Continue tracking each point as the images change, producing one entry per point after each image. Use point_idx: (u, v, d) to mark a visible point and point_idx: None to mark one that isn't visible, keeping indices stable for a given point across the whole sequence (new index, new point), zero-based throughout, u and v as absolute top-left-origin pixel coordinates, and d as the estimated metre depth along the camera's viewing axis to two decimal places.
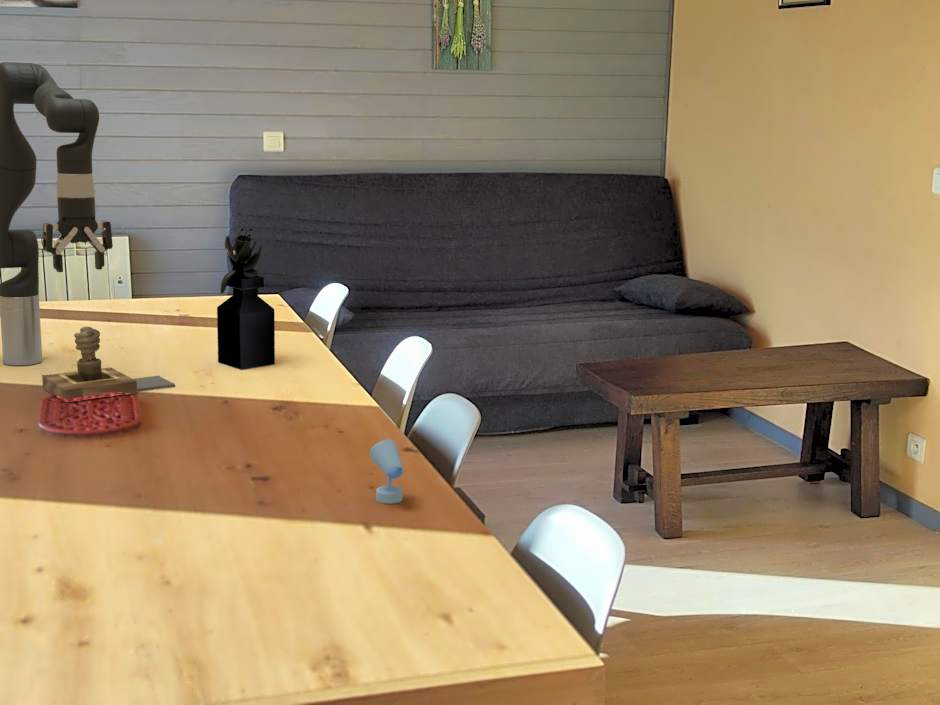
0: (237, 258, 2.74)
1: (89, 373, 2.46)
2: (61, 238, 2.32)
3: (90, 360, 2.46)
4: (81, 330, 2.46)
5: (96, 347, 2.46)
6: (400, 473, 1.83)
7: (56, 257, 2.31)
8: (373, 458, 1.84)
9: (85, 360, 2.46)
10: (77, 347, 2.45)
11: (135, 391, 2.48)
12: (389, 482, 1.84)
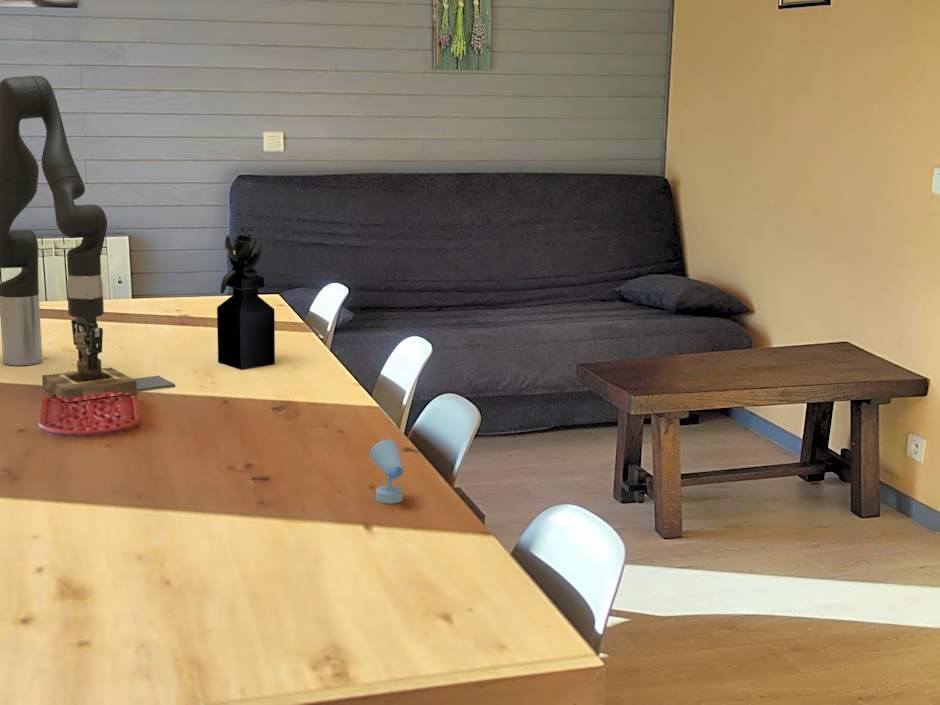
0: (237, 258, 2.74)
1: (89, 373, 2.46)
2: None
3: None
4: None
5: None
6: (400, 473, 1.83)
7: None
8: (373, 458, 1.84)
9: (85, 360, 2.46)
10: (77, 347, 2.45)
11: (135, 391, 2.48)
12: (389, 482, 1.84)
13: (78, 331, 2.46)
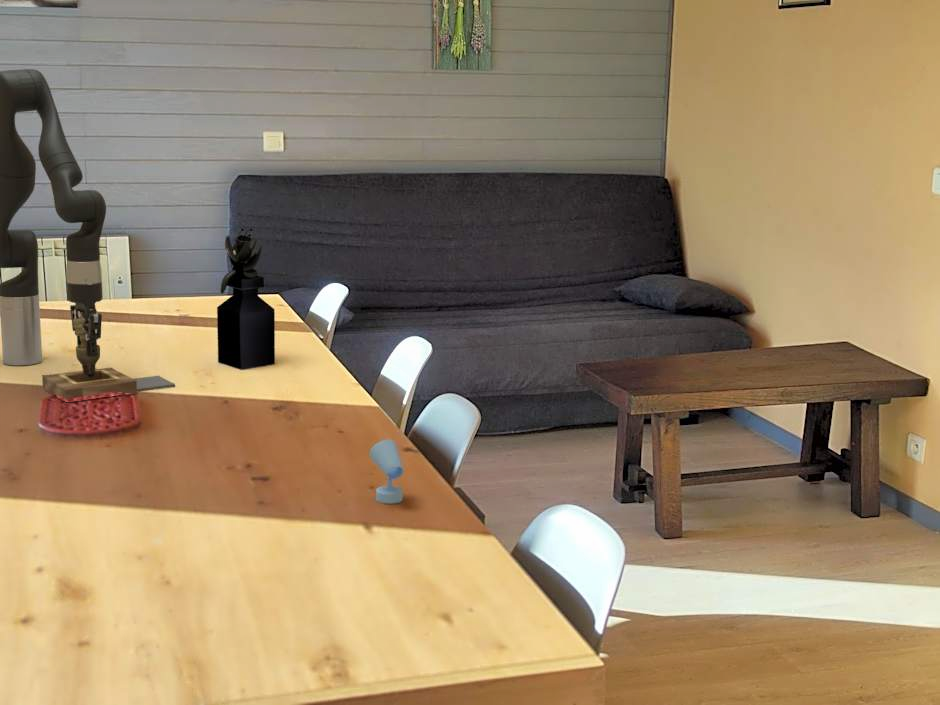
0: (237, 258, 2.74)
1: (87, 358, 2.46)
2: None
3: None
4: None
5: None
6: (400, 473, 1.83)
7: None
8: (373, 458, 1.84)
9: (84, 346, 2.46)
10: (76, 333, 2.45)
11: (135, 391, 2.48)
12: (389, 482, 1.84)
13: (77, 317, 2.46)
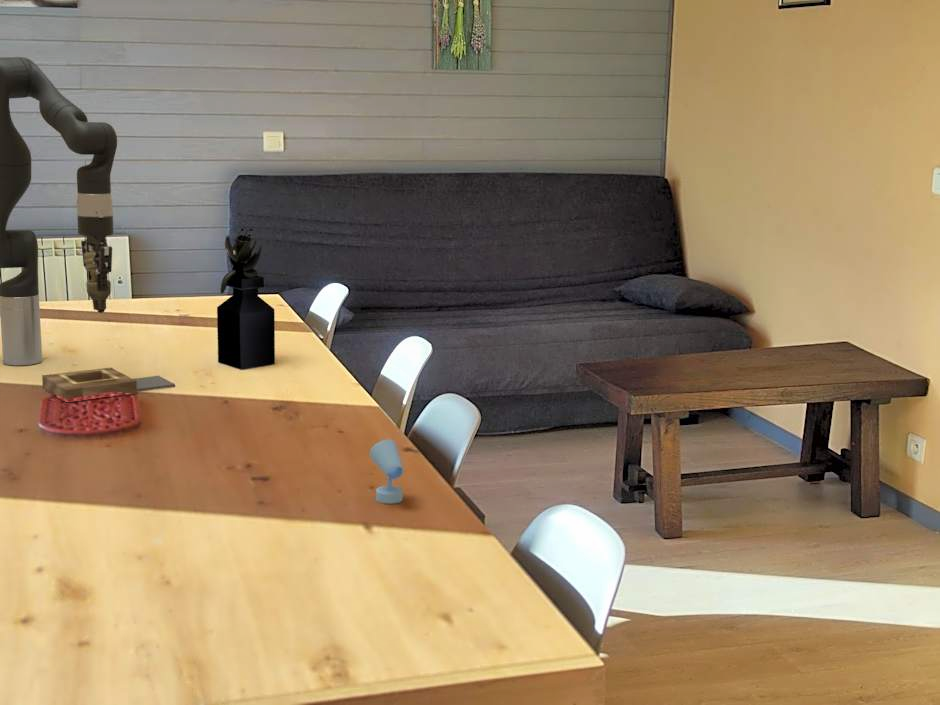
0: (237, 258, 2.74)
1: (98, 293, 2.44)
2: None
3: None
4: None
5: None
6: (400, 473, 1.83)
7: None
8: (373, 458, 1.84)
9: (94, 280, 2.44)
10: (86, 267, 2.43)
11: (135, 391, 2.48)
12: (389, 482, 1.84)
13: (88, 251, 2.44)
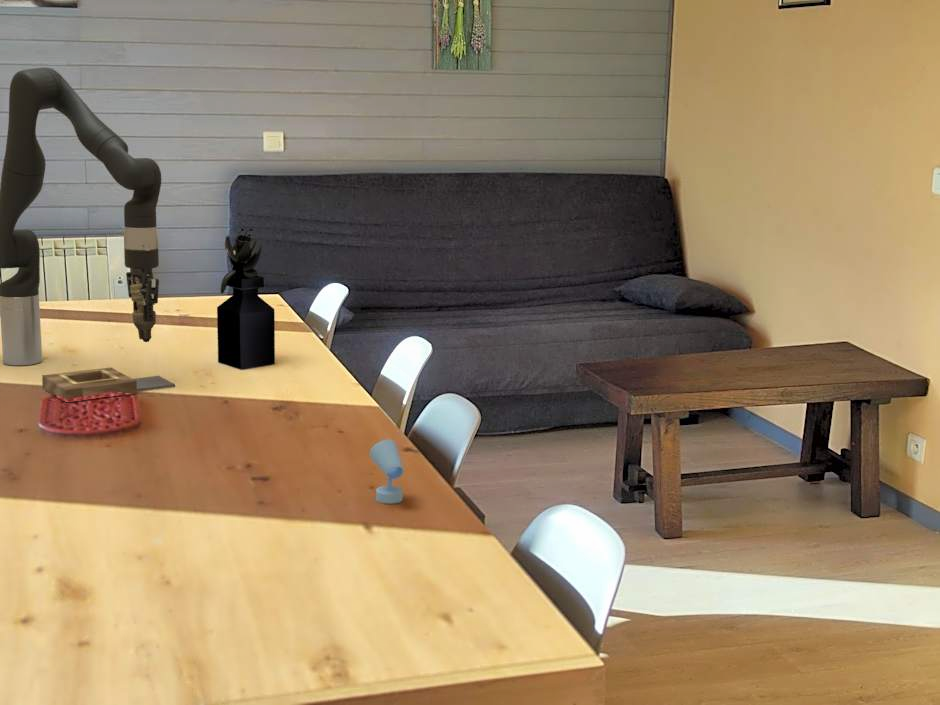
0: (237, 258, 2.74)
1: (144, 323, 2.51)
2: None
3: None
4: None
5: None
6: (400, 473, 1.83)
7: None
8: (373, 458, 1.84)
9: (140, 311, 2.51)
10: (133, 298, 2.50)
11: (135, 391, 2.48)
12: (389, 482, 1.84)
13: (134, 283, 2.51)
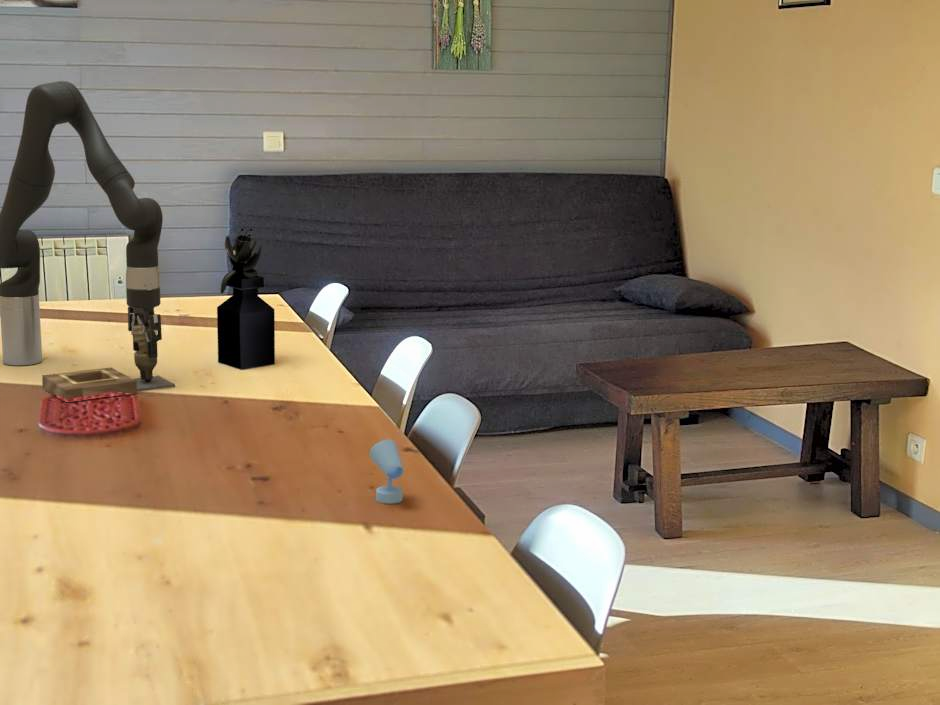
0: (237, 258, 2.74)
1: (146, 364, 2.53)
2: None
3: None
4: (138, 323, 2.53)
5: None
6: (400, 473, 1.83)
7: None
8: (373, 458, 1.84)
9: (142, 352, 2.53)
10: (135, 339, 2.52)
11: (135, 391, 2.48)
12: (389, 482, 1.84)
13: (135, 321, 2.53)
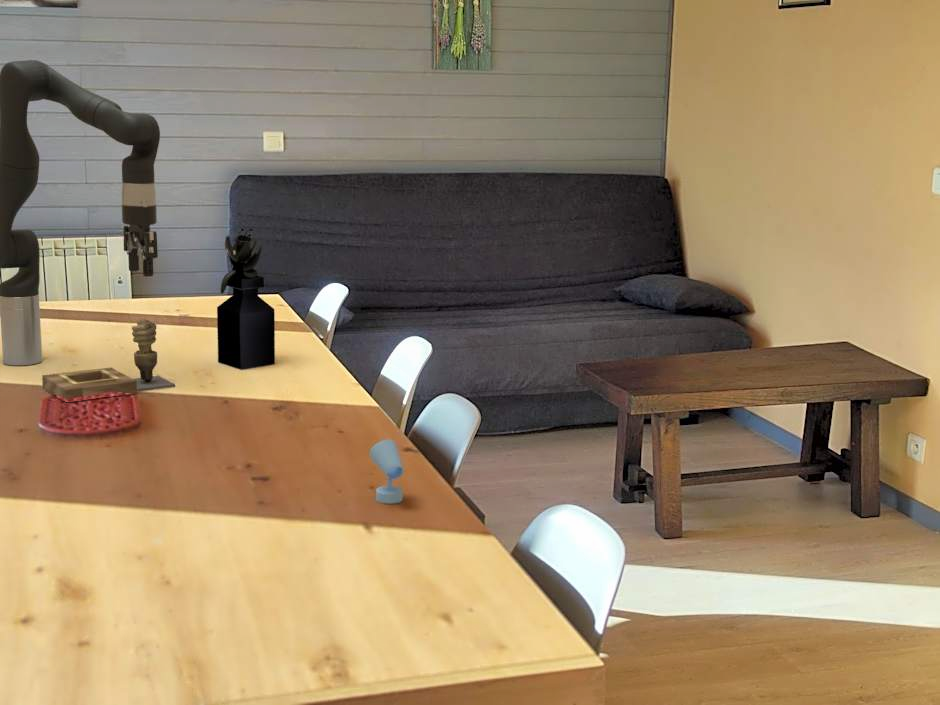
0: (237, 258, 2.74)
1: (145, 364, 2.53)
2: None
3: (147, 352, 2.53)
4: (138, 323, 2.53)
5: (153, 339, 2.53)
6: (400, 473, 1.83)
7: None
8: (373, 458, 1.84)
9: (142, 352, 2.53)
10: (134, 339, 2.52)
11: (135, 391, 2.48)
12: (389, 482, 1.84)
13: (131, 239, 2.50)
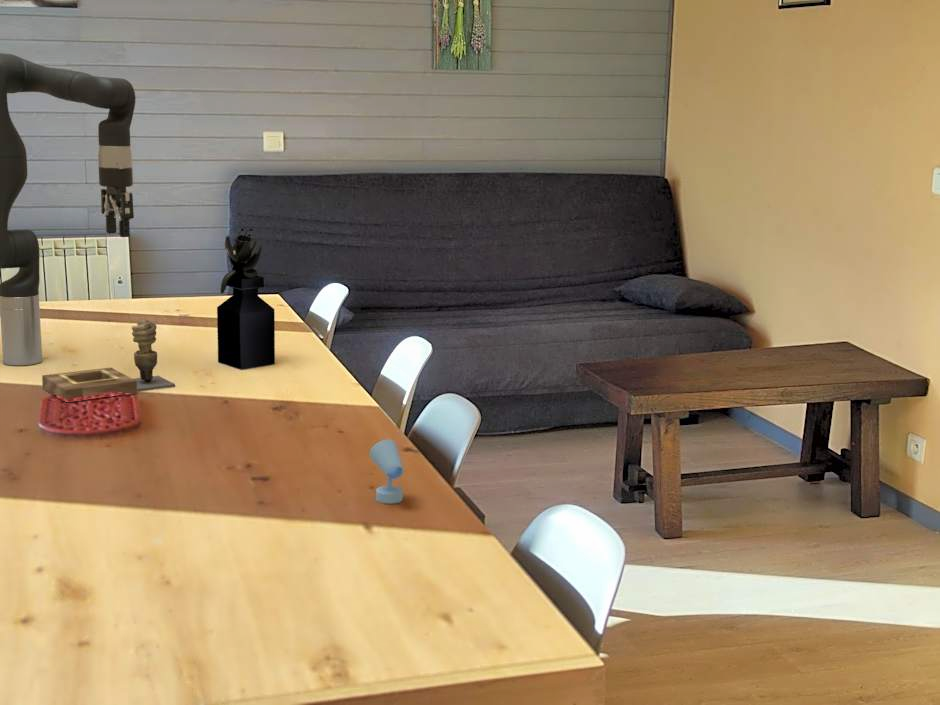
0: (237, 258, 2.74)
1: (145, 364, 2.53)
2: None
3: (147, 352, 2.53)
4: (138, 323, 2.53)
5: (153, 339, 2.53)
6: (400, 473, 1.83)
7: None
8: (373, 458, 1.84)
9: (142, 352, 2.53)
10: (134, 339, 2.52)
11: (135, 391, 2.48)
12: (389, 482, 1.84)
13: (108, 202, 2.56)
